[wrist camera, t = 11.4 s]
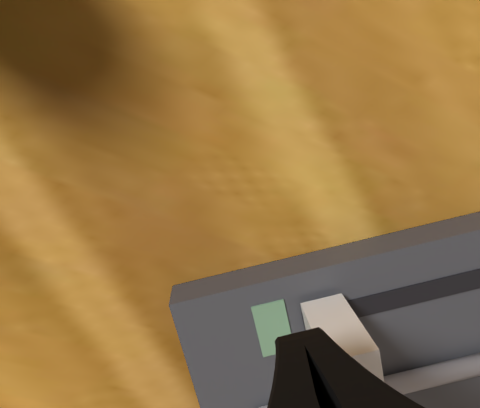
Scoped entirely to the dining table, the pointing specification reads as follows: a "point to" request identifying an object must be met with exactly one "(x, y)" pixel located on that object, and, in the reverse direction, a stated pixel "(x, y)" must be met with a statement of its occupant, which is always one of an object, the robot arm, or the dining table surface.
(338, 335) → the breaker
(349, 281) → the slider control panel
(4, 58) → the dining table surface
